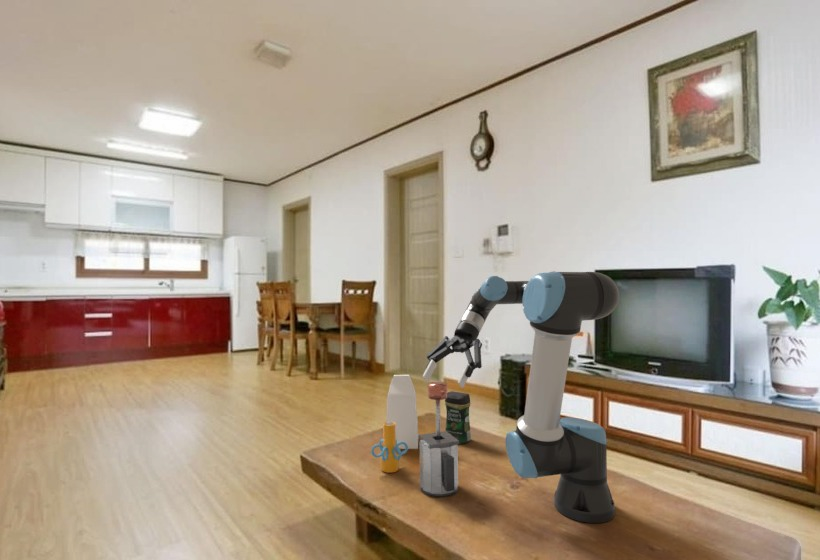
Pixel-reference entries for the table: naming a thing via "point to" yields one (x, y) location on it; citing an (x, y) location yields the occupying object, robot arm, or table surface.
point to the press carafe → (438, 465)
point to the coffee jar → (458, 416)
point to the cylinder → (389, 449)
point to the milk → (403, 410)
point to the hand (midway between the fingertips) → (442, 382)
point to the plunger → (437, 401)
